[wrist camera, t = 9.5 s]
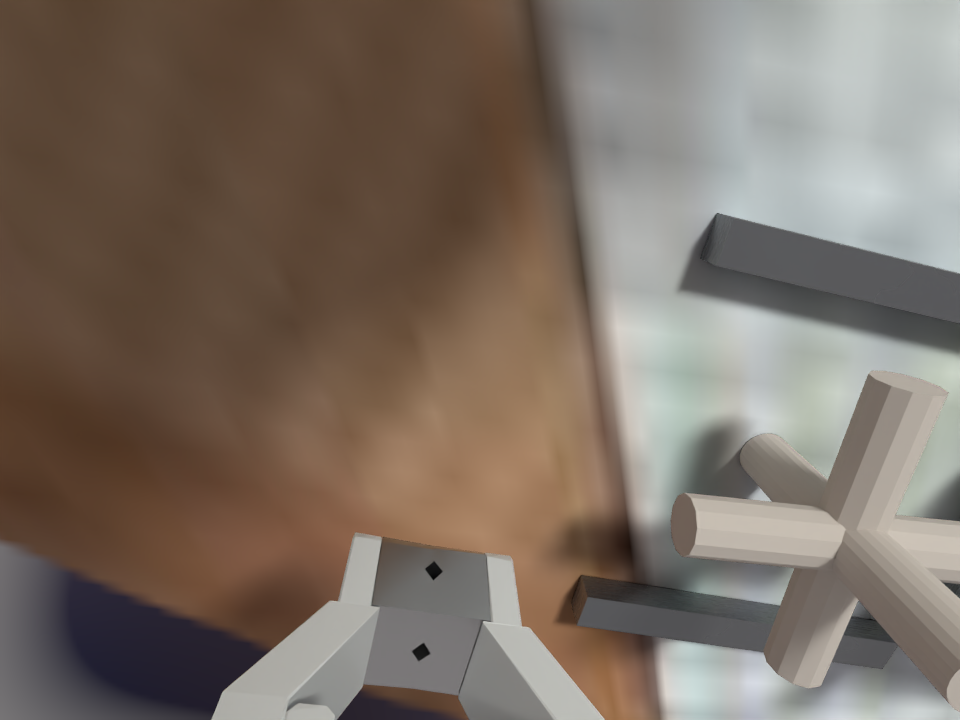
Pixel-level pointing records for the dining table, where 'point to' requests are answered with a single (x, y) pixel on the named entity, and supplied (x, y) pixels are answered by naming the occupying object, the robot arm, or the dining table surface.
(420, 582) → the robot arm
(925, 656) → the pipe connector
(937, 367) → the dining table surface
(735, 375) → the dining table surface
